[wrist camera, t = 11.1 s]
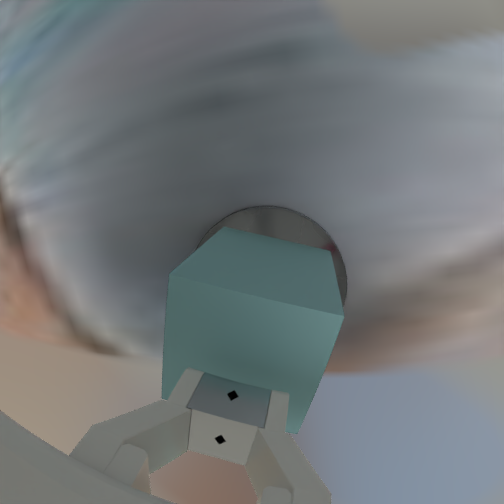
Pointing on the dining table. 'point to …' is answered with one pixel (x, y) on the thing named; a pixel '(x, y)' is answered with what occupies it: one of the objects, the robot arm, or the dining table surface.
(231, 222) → the grey round stand
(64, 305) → the dining table surface
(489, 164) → the dining table surface
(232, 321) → the teal rectangular block
